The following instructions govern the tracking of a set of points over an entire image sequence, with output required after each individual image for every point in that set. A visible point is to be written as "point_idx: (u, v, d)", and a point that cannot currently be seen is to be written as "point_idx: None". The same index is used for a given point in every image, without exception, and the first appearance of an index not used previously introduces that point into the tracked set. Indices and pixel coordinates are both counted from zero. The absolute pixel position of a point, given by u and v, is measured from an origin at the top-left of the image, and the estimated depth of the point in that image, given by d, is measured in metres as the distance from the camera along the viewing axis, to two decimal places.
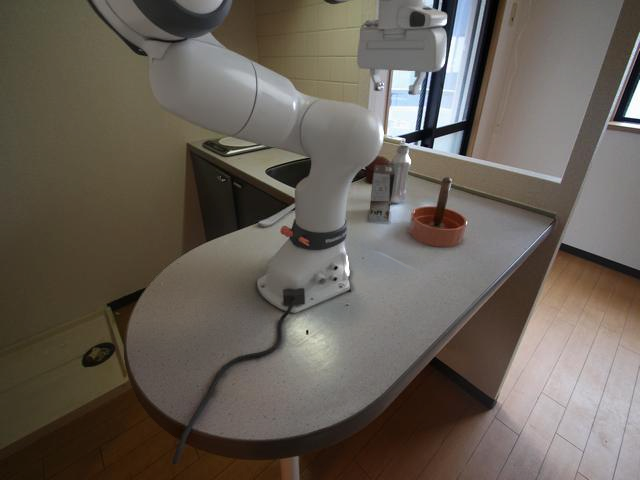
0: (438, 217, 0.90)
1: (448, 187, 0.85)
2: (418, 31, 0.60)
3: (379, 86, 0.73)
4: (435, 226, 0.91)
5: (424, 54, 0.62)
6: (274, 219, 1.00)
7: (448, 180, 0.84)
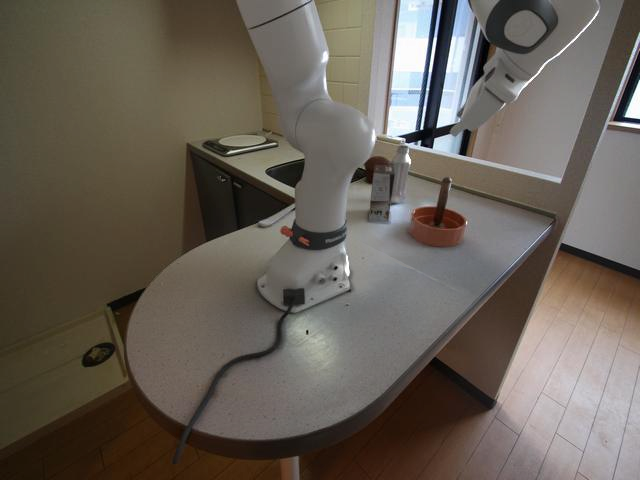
0: (438, 217, 0.90)
1: (448, 187, 0.85)
2: (483, 85, 0.62)
3: (460, 112, 0.77)
4: (435, 226, 0.91)
5: None
6: (274, 219, 1.00)
7: (448, 180, 0.84)
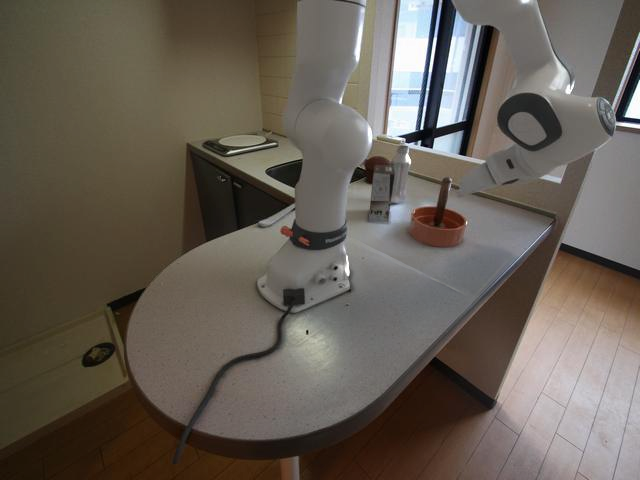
0: (438, 217, 0.90)
1: (448, 187, 0.85)
2: None
3: None
4: (435, 226, 0.91)
5: None
6: (274, 219, 1.00)
7: (448, 180, 0.84)
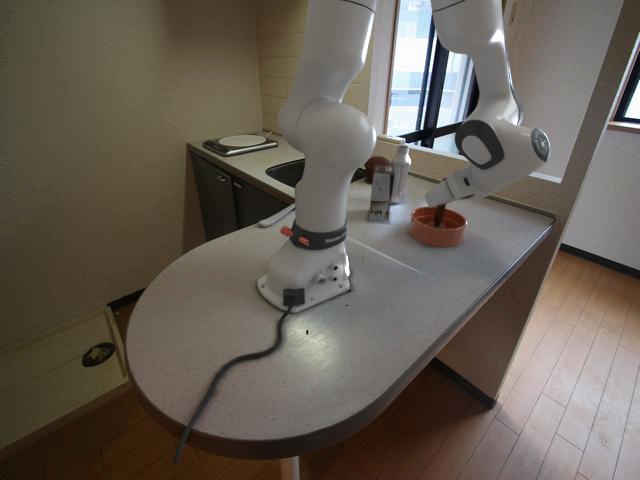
0: (438, 217, 0.90)
1: None
2: None
3: None
4: (435, 226, 0.91)
5: None
6: (274, 219, 1.00)
7: None
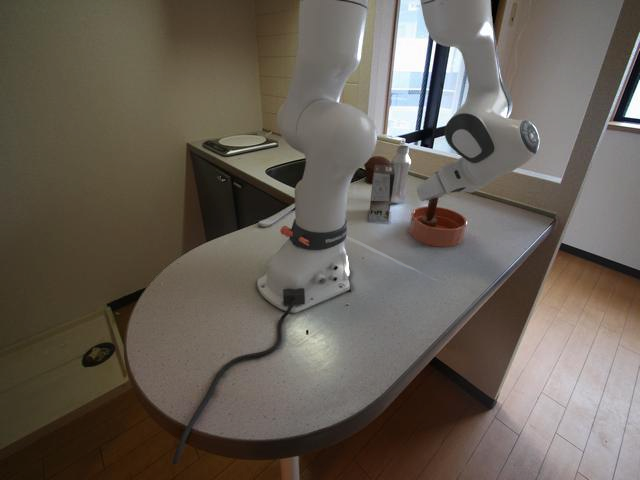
0: (430, 211, 0.90)
1: None
2: None
3: None
4: (427, 220, 0.91)
5: None
6: (274, 219, 1.00)
7: None
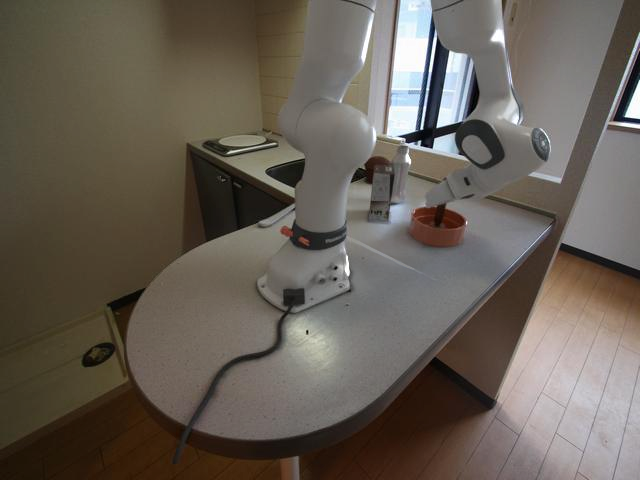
0: (438, 217, 0.90)
1: None
2: None
3: None
4: (435, 226, 0.91)
5: None
6: (274, 219, 1.00)
7: None
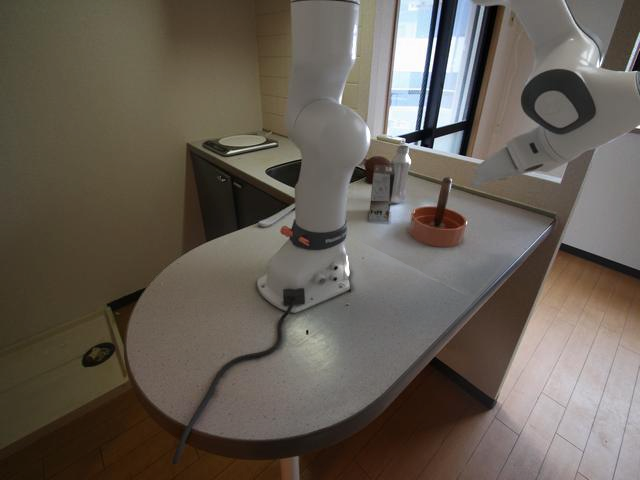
0: (438, 217, 0.90)
1: (448, 187, 0.85)
2: None
3: None
4: (435, 226, 0.91)
5: None
6: (274, 219, 1.00)
7: (448, 180, 0.84)
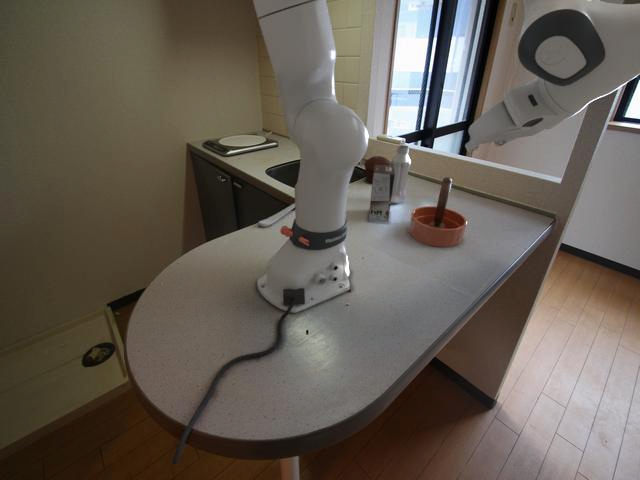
0: (438, 217, 0.90)
1: (448, 187, 0.85)
2: None
3: None
4: (435, 226, 0.91)
5: None
6: (274, 219, 1.00)
7: (448, 180, 0.84)
